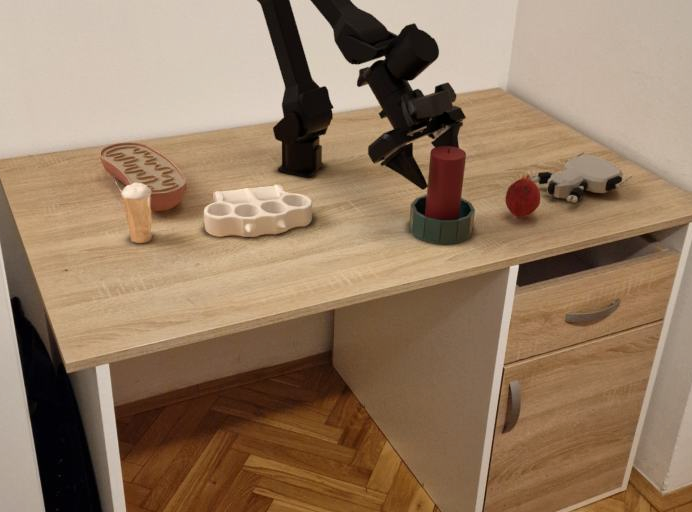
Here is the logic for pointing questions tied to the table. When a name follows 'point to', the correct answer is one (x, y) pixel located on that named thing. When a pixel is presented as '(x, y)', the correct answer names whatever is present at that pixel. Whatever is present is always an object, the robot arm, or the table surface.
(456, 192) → the candle
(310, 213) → the knuckle duster
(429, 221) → the shallow bowl
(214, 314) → the table surface
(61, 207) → the table surface
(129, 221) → the milkshake
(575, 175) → the robot toy
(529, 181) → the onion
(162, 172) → the mitochondrion model
